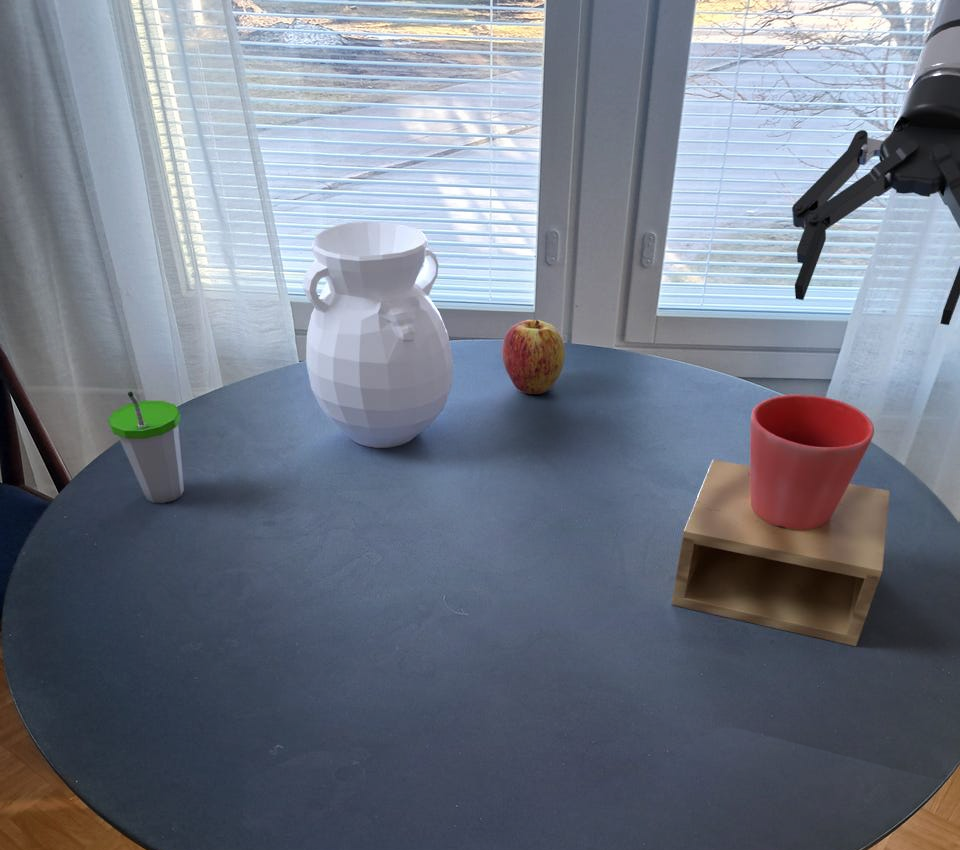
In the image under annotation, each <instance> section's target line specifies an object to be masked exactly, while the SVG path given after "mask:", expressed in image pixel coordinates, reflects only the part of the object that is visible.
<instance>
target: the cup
mask: <svg viewBox="0 0 960 850" xmlns="http://www.w3.org/2000/svg"><path fill="white" fill-rule="evenodd" d="M127 396H128V397H129V399H130V400H131V402H132V403H129V404H126V405H124V406H122V407H119V408H118V409H116V410H114V411H113V412H112V413H111V415H110V416H109V417H108V418H107V421H108V424H109V427H110V429H111V431H112V433H113V435H116V436H117V437H118V439H119V441H120V443H121V446H122V448H123V450H124V453H125V455H126V457H127V459H128V461H129V464H130V465H131V468H132V471H133V472H134V475H135V477H136V479H137V481H138V483H139V486H140V488H141V490H142V492H143V495H144V497H145V499H146V501H147V500H148V502H150V503H152V504H167V503H166V502H168V503H171V502H175V501H176V500H178V499H180V498H182V496H183V495H184V493H183V492H185V485H184V474H183V464H182V463H183V462H182V453H181V443H180V442H181V441H180V431H179V423H180V421H181V420H182V418H181V413H180V411H179V409H178V407H177V405H175V404H173V403H170V402H167V401H165V400H143V401H138V398H137V397H136V396H135V394H134V392H133V391H128V392H127ZM182 494H183V495H182ZM179 497H180V498H179Z"/></svg>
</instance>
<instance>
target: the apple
mask: <svg viewBox="0 0 960 850" xmlns="http://www.w3.org/2000/svg"><path fill="white" fill-rule="evenodd" d="M501 346H502V347H501V357H502V362H503V363H502V364H503V366H504V368H505V371H506V372H507V375H508V377H509V379H510V380H511V382H512V384H513V385H514V387H515V388H516V389H517V390H518V391H519V392H521V393H524V394H527V395H541V394H545V393H546V392H548V391H549V390H550V389H551V388H552V387H554V385H555V383H556V382H557V381H558V378H559V377H560V374H561V373H562V370H563V368H564V364H565V360H566V346H565V342H564V339H563V337H562V335H561V333H560V332H559V330H558V329H557V328H556V327H555V326H554V325H552V324H551V323H549V322H546V321H543V320H540V319H526V320H523V321H520V322H517V323H515V324H514V325H512V326H511V327H510V328H509V329H508V331H507V332H506V334H505V336H504V338H503V342H502V345H501Z"/></svg>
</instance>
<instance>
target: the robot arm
mask: <svg viewBox="0 0 960 850" xmlns="http://www.w3.org/2000/svg"><path fill="white" fill-rule="evenodd" d="M918 57H919V58H918V60H917V63H916V65H915V68H914V70H913V73H912V76H911V79H910V81H909V84H908V89H907V92H906V93H905V94H904V98H903V101H902V103H901V106H900V108H899V111H898V114H897V117H896V119H895V121H894V124H893V126H892V130H891V132H890V134H889V135H888V136H887V137H886V138H885V139H884V140H881V139H876V138H871V137H869V133H868V132H867V130H864V129H861V130H858V131H856V132H855V134H854V136H853V138H852V139H851V141H850V144H849V145H848V148H847V150H845V152H843V154H842V155H841V156H839V158H838V159H837V160H836V161H834V163H833V164H832V165H831V166H830V167H828V169H827V170H826V171H825V172H824V173H823V174H822V175H821V176H820V177H819V178H818V179H817V180H816V181H815V182H814V183H813V184H812V185H811V186H810V188H809V189H807V190H806V192H805V193H804V194H802V196H801V197H800V198H798V200H797V201H796V202H795V203H794V204H793V205H792V207H791V214H792V225H793V226H794V227H795V228H801V229H803V231H802V235H801V236H800V237H801V238H800V240H799V243H798V245H797V247H796V260H797V263H799V264H801V267H800V270H799V272H798V275H797V277H796V280H795V282H794V295H795V297H794V298H795V300H800V301H804V299H805V296H806V293H807V291H808V288H809V286H810V283H811V280H812V278H813V276H814V273H815V269H816V267H817V264H818V262H819V259H820V256H821V253H822V251H823V248H824V245H825V243H826V240H827V230H828V229H829V228H831V227H832V226H834V225H835V224H836V223H838V222H839V221H841V220H842V219H844V218H846V217H847V216H848V215H850V214H851V213H853V212H854V211H856V210H857V209H859V208H860V207H862V206H863V205H865V204H866V203H868V202H869V201H870V200H873V198H875V197H877V198H878V197H881V196H883V195H884V194H885V193H887V192H888V191H890V190H892V189H893V190H895V193H896V194H904V195H905V194H915V195H918V196H921V197H931V195H933V194H937V193H938V195H939V197H940V198H941V201H942V203H943V204H944V205H945V206H947V208H948V210H949V211H950V213H951V215H952V217H953V219H954V221H955V222H956V224H957V227H958V228H959V229H960V0H940V1H939V4H938V6H937V10H936V13H935V16H934V19H933V21H932V25H931V28H930V31H929V33H928V36H927V38H926V40H925V42H924V46H923V48H922V50H921V52H920V55H919V56H918ZM874 157H878V159H879V162H878V163H877V164H875V165H874V166H872V168H871V169H870V171H869V172H868V173H866V174H864V176H862V177H861V178H859V179H857V180H856V181H854V182H853V183H852V184H851V185H849V186H847V187H845V189H843V190H842V191H840V192H838V191H839V190H840V189H841V188H842V187H843V186H844V185H845V184H846V183H847V182H848V181H849V180H850V179H851V178H852V177H853V176H854V175H855V173H856V172H857V171H858V169H859V168H860V167H861V166H865V165H867V163H868V162H869V161H870V160H871V159H872V158H874ZM837 192H838V193H837ZM836 193H837V194H836ZM834 195H835V196H834ZM959 299H960V266H959V267H958V270H957V272H956V275H955V277H954V280H953V283H952V285H951V289H950V291H949V293H948V297H947V299H946V302H945V304H944V307H943V310H942V313H941V319H940V325H945V326H950V323H951V320H952V317H953V316H954V313H955V309H956V307H957V304H958V301H959Z"/></svg>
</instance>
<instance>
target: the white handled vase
mask: <svg viewBox="0 0 960 850" xmlns="http://www.w3.org/2000/svg"><path fill="white" fill-rule="evenodd" d="M428 246H429V241H428V239H427V237H426V235H425V234H424V232H422V231H421V230H420V229H419V228H415V227H412V226H409V225H404V224H399V223H393V222H382V221H359V222H348V223H343V224H338V225H334V226H332V227H329V228H327V229H325V230H322V231H321V232H320V233H317V235H315V237H314V239H313V240H312V243H311V246H310V247H311V250H312V252H313V254H314V258H315V259H314V261H313V262H312V264H311V265H310V266H309V268H308V269H307V270H306V272H305V273H304V274H303V279H302V288H303V291H304V295H305V297H306V298H307V299H308V301H309V302H310V304H311V305H312V306H313V310H312V312H311V313H310V318H309V324H308V327H307V331H306V350H305V352H306V353H305V356H306V357H305V358H306V359H305V360H306V368H307V373H308V374H307V375H308V379H309V384H310V388H311V390H312V393H313V395H314V397H315V399H316V401H317V404H318V405H319V407H320V409H321V410H322V411H323V413H324V414H325V415H326V416H327V418H329V420H331V422H332V423H333V424H334V425H335V426H336V427H337V428H338V429H339V430H340V431H342V432H343V433H344V434H345V435H346V436H347V438H349V439H350V440H351V441H353V442H354V443H356V444H358V445H360V446H363V447H368V448H375V449H381V448H382V449H383V448H392V447H393V448H394V447H398V446H402V445H404V444H407V443H409V442H410V441H412V440H413V439H414V438H415V437H417V436H418V435H419V434H421V433H422V432H424V430H426V429H427V428H428V427H429V426H431V425H432V424H433V423H434V421H435V420H436V419H437V418H438V416H439V415H440V414H441V413H442V411H443V410H444V409H445V406H446V405H447V402H448V398H449V395H450V392H451V389H452V386H453V375H454V361H453V355H452V348H451V343H450V338H449V333H448V331H447V328H446V326H445V323H444V319H443V317H442V315H441V313H440V311H439V309H438V308H437V307H436V305H435V304H434V302H433V301H432V299H431V297H430V293H431V291H432V288H433V285H434V284H435V282H436V280H437V278H438V274H439V262H438V259H437V255H436V254H435V253H434V252H433V251H431V249H429V248H428ZM322 278H325V281H326V283H325V285H324V286H323V287H322V290H321V292H320V295H318V292H317V288H318V283H319V282H320V280H322Z"/></svg>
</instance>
